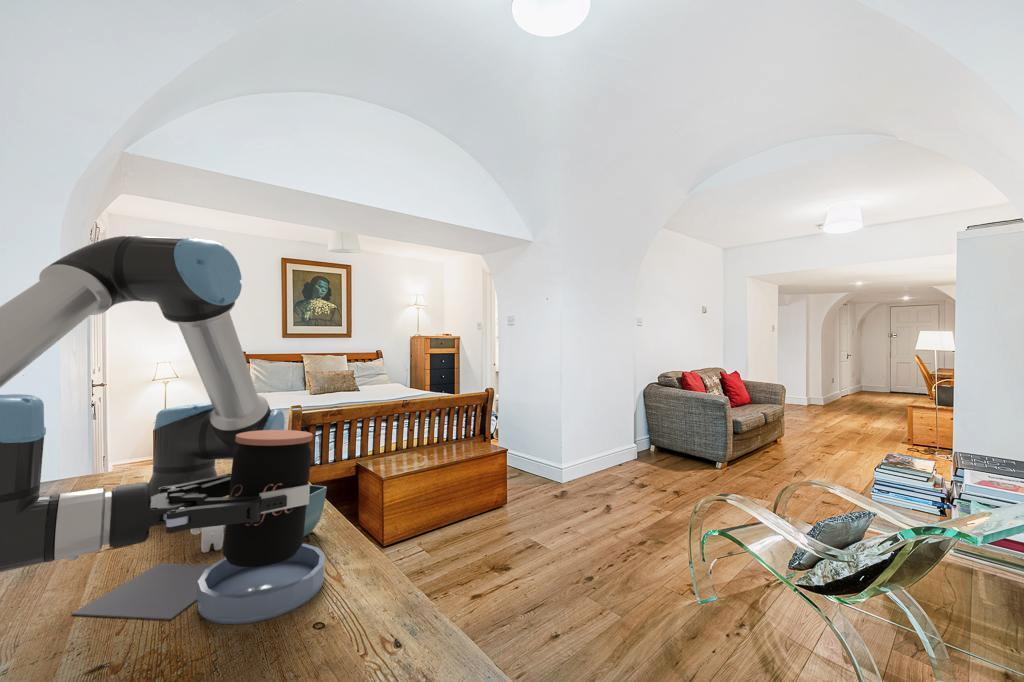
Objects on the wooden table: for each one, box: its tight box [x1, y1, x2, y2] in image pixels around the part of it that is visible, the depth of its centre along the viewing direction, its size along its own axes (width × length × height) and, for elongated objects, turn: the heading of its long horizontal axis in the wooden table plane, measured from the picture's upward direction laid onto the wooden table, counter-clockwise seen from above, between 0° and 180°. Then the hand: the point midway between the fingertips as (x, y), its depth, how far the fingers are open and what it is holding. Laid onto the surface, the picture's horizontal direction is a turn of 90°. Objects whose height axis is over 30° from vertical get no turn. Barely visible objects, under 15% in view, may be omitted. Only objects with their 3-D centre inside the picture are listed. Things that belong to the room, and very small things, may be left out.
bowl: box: [196, 542, 326, 625], centre depth 66 cm, size 17×17×4 cm
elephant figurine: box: [189, 525, 226, 553], centre depth 79 cm, size 7×8×6 cm
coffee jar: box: [222, 429, 314, 567], centre depth 66 cm, size 11×11×18 cm
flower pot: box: [304, 484, 328, 537], centre depth 85 cm, size 9×9×9 cm
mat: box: [71, 563, 211, 621], centre depth 65 cm, size 14×14×1 cm
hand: (296, 485), depth 69 cm, fingers closed on coffee jar, 11 cm apart
